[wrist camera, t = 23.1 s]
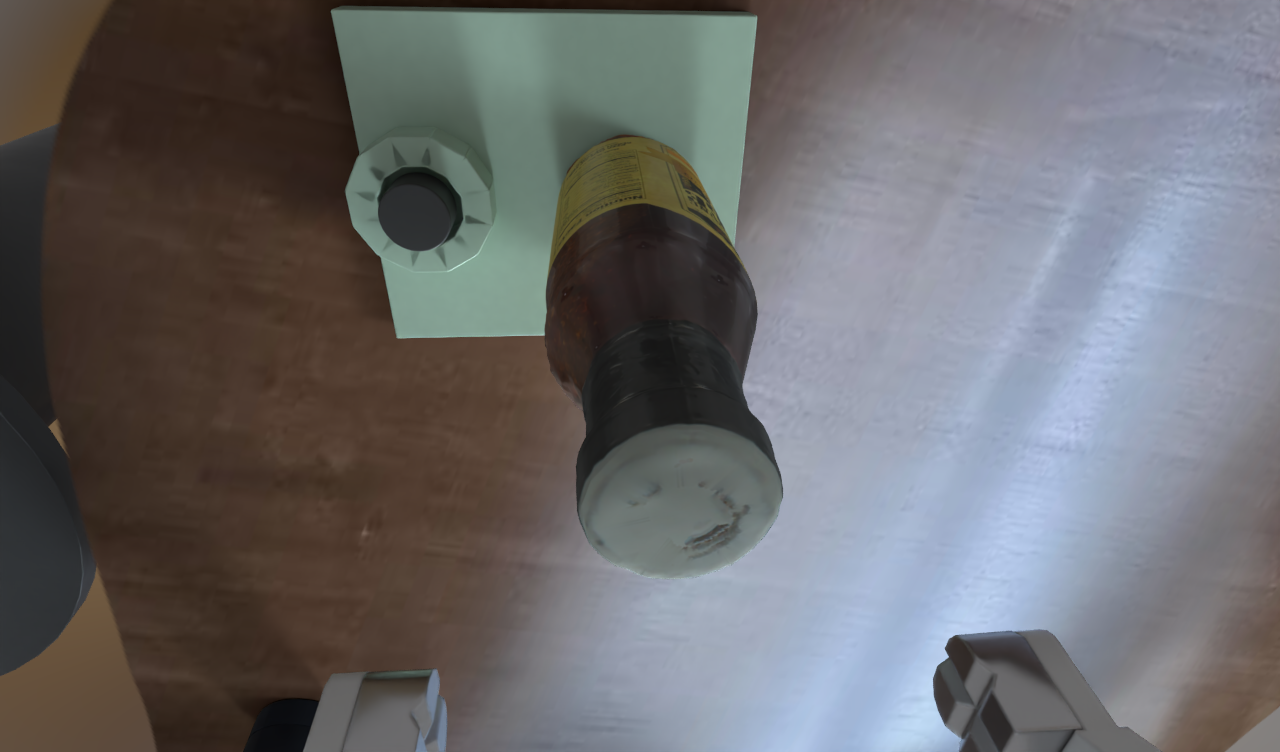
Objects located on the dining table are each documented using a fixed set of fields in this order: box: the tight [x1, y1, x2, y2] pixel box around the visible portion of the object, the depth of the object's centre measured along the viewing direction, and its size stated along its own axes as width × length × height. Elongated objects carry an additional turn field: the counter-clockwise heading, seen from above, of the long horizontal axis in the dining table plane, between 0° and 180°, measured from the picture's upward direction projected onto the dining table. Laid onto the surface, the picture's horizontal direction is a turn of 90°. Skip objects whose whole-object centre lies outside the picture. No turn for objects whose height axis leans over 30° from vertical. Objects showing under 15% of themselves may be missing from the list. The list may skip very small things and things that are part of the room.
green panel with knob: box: [331, 6, 757, 338], centre depth 30 cm, size 16×14×3 cm
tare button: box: [378, 172, 457, 251], centre depth 28 cm, size 3×3×2 cm
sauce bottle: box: [544, 135, 783, 579], centre depth 22 cm, size 6×6×20 cm
